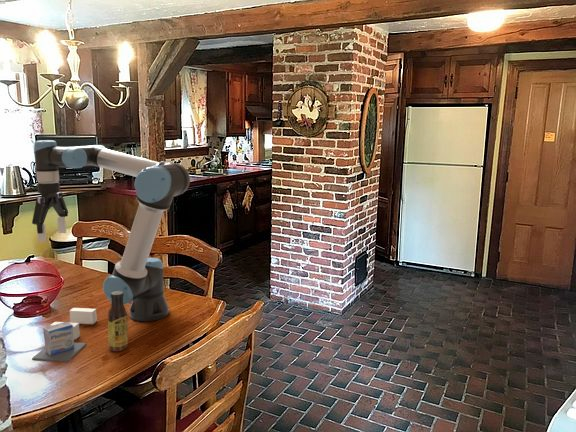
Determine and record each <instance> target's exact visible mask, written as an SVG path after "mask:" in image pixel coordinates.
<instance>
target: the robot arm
mask: <svg viewBox="0 0 576 432" xmlns="http://www.w3.org/2000/svg"><path fill="white" fill-rule="evenodd" d="M57 143H58V142H57V141H56V140H49V139H47V140H45V139H44V140H36V141H35V142H34V143H33V145H34V147H33V148H34V149H33V150H34V151H33V153H34V160H35V171H36V173H35V175H36V181H37V182H38V183H37V184H36V186H37V192H38V194H41V195H40V197H35V207H34V211H33V216H32V220H31V221H32V222H31V224H32V225H36V231H37V242H39V243H40V242H41V243H42V242H43V243H46V242H47V232H46V224H45V220H46V217H47V214H48V212H49V210H50V209H51V208H53V209H54V211H55V213H56V214H57V217H56V218H57V229H58V230H57V231H58V232H57V233H59V234H66V233H67V228H66V227H67V226H66V217H68V216H69V211H68V208H67V204H66V202H65V199H64V197H63V192H61V186H60V182H59V181H60V172H59V168H66V169H67V168H68V169H81V168H83V167H87V166H88V167H89V166H94V167H98V168H101V169H105V170H110V171H112V172H117V173H120V174H124V175H127V176H132V177H134V178H135V179H134V189H135V194H136V199H135V200H136V201H137V202H138V207H137V210H136V214H135V216H134V220H133V223H132V225H131V229H130V232H129V236H128V239H127V241H126V245H125V248H124V252H123V254H122V257H121V260H119V261H117V262H116V263H115V265H114V268H113V271H112V274H111V275H108V276H107V277H106V278H105V279H104V281H103V283H102V284H103V285H102V290H103V293H104V295H105V297H106V298H107V300H108V301H109V302H111V303H112V298H111V293H112V292H114V291H122V292H123V293H124V296H123V305H124V306H125V305H127V304H130V303H131V304H130V307H129V317H130V318H131V320H134V321H137V322H153V321H158V320H161V319H164V318H165V317H167V316H168V315H169V313H170V312H169V311H170V309H169V304H168V302H167V299H166V297H165V292H164V290H165V289H164V265H163V264H164V263H163V261H162V259H160V258H156V257H150V253H151V250H152V248H153V247H152V246H153V244H154V241H155V238H156V235H157V232H158V229H159V226H160V224H161V221H162V218H163V215H164V212H165V211H167V210H169V209H170V207H171V205H172V202H173V199H174V197H177V196H180V195H182V194H184V193H185V192H186V191H187V190H188V188H189V187H190V183H191V177H190V173H189V171H188V170H187V168H186V167H185V166H184V165H182V164H180V163H175V162H169V161H166V160H162V161H160V162H159V161H155V160H151V159H147V158H143V157H139V156H136V155H135V156H134V155H132V154H127V153H124V152H119V151H116V150H111V149H108V148H106V147H105V145H101V144H93V145H80V146H79V145H78V146H77V145H75V146H58V145H57Z"/></svg>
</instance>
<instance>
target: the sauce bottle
mask: <svg viewBox="0 0 576 432" xmlns="http://www.w3.org/2000/svg"><path fill="white" fill-rule="evenodd" d="M123 296H124V293H123V292H122V291H114V292H112V293H111V298H112V302H111V307H109V310H108V313H107V317H108V318H107V334H108V337H107V338H108V339H107V340H108V349H109V350H110V351H112V352H121V351H124V350H126V349H127V348H128V346H129V345H128V343H129V335H128V334H129V333H128V330H129V329H128V328H129V327H128V326H129V325H128V324H129V323H128V313H127V310H126V308H125V305H123Z"/></svg>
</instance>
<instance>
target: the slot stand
mask: <svg viewBox="0 0 576 432" xmlns="http://www.w3.org/2000/svg"><path fill="white" fill-rule="evenodd" d="M68 313H69V323H70V324H72V325H73V336H74V341H77V339H78V338H79V337H80V336H81V335H80V334H81V330H80V324H81V325H94V324H96V322H97V321H98V319H97V308H86V307H72V308H71V309H70V310H69V312H68ZM60 323H64V322H63V321H54V322H53V323H51V324H49V327H50V326H53V325H57V324H60Z"/></svg>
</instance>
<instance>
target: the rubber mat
mask: <svg viewBox="0 0 576 432" xmlns="http://www.w3.org/2000/svg"><path fill="white" fill-rule="evenodd" d="M86 345H87V342H76V341H74V349H71V350H68V351H65V352H62V353H59V354H56V355H53V356H50V355H49V354H48V353H47V352H46V351H45V347H44V348H43V349H41V350H40V351H39V352H38V353H36V354H35V355H34V356H33V357H32V358H31V360H32V361H44V362H45V361H46V362H47V361H48V362H49V361H50V362H64V363H68V362H70V361H71V360H72V359H73V358H74V357H75V356H76V355H77V354H79V352H80V351H82V350H83V348H85V347H86Z"/></svg>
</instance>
